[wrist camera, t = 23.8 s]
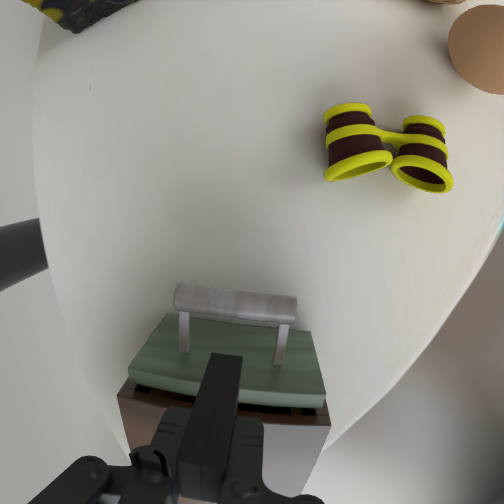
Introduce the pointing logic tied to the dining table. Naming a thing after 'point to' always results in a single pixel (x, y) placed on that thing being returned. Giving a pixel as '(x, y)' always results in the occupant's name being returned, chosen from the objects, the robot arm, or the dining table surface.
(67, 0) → the candle
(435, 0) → the bagel
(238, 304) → the drawer
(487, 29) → the egg
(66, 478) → the robot arm
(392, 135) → the opera glasses
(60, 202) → the dining table surface
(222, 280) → the dining table surface
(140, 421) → the cabinet
